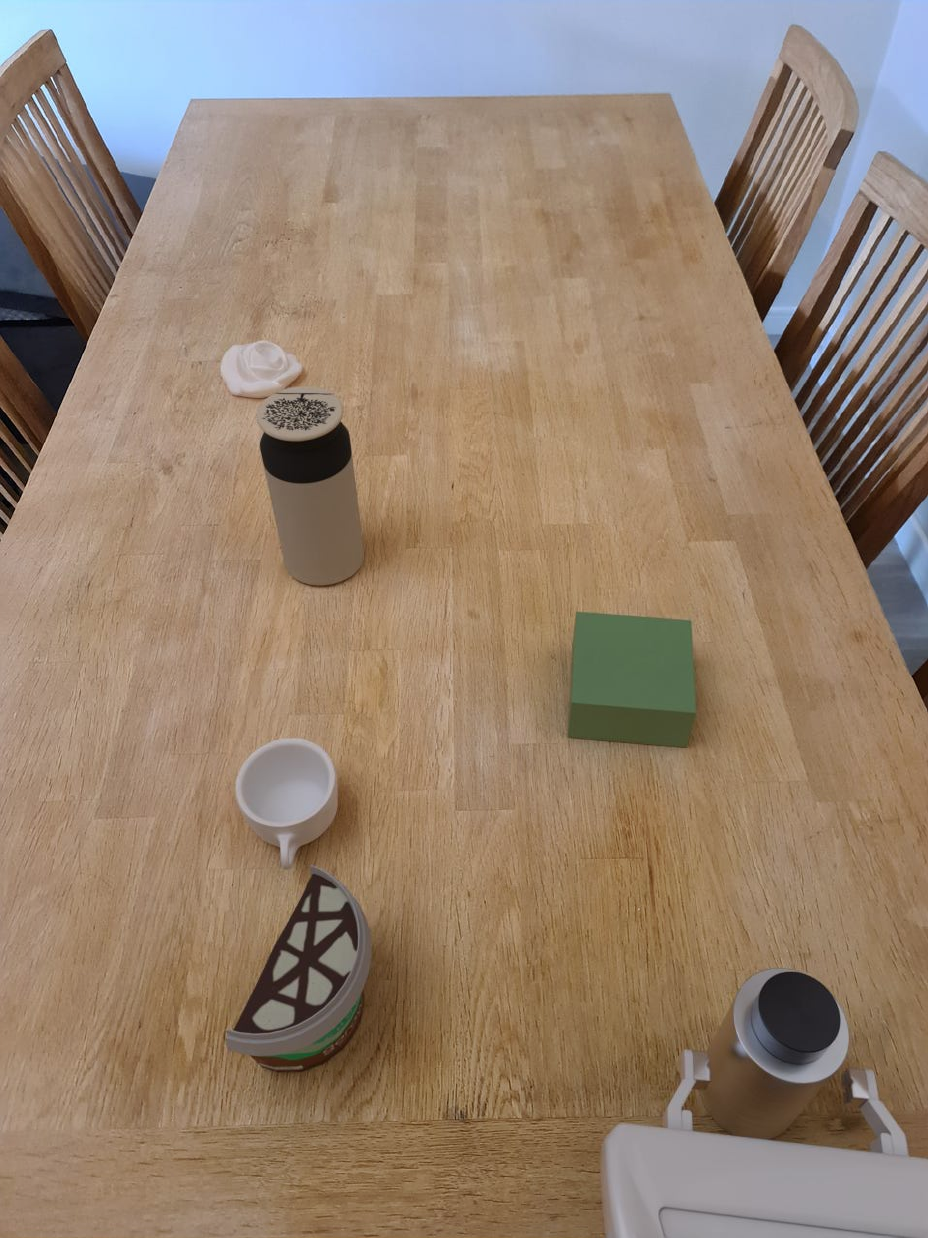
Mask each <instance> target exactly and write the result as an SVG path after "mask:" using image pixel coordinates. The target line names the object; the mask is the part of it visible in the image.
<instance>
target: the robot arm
mask: <svg viewBox="0 0 928 1238" xmlns="http://www.w3.org/2000/svg"><path fill="white" fill-rule="evenodd" d="M708 1063H709V1053H708V1052H707V1050H706V1051H705V1050H696V1049H688V1048H687V1049H686V1048H683V1049H682V1051H681V1053H680V1058H679V1077H680V1079H679V1080H680V1083H679V1085H678V1087H677V1089H676V1091H675V1093H674V1094H673V1096H672V1098H671V1100H670V1101H669V1103H668V1105H667V1107H666V1109H665V1111H664V1113H663V1116H661V1117H662V1118H661V1119H662V1123H661V1124H662V1126H655V1125H645V1124H636V1123H629V1122H619V1123H617V1124H615V1126H613V1128H611V1130H610V1131H609V1132H608V1133H607V1134H606V1135H605V1136H604V1138H603V1141H602V1144H601V1148H600V1162H599V1163H600V1165H599V1166H600V1168H599V1169H600V1170H599V1171H600V1172H599V1173H600V1193H601V1195H600V1196H601V1206H602V1207H601V1208H602V1217H603V1226H604V1234H605V1238H928V1158H926V1157H919V1156H912V1155H911V1156H910V1154H909V1148H908V1147H909V1146H908V1141H907V1136H906V1134H905V1132H904V1131H903V1129H902V1128H901V1127H900V1125H899V1124H898V1123H897V1121H896V1119H895V1118H894V1117H893V1116H892V1114H891V1112H890V1110H888V1109H887V1107H886V1105H885V1104H884V1103H883V1101H882V1100H880V1098H879V1091H878V1084H877V1080H876V1074H875V1073H876V1072H874V1070H873V1069H869V1068H857V1067H846V1068H844V1070H843V1071H842V1072H841V1074H840V1075H841V1076H840V1084H841V1087H842V1089H843V1090H844V1091H843V1093H842V1098H843V1103H844V1104H843V1105H844V1107H846V1108H854V1109H858V1110H859V1112H860V1114H861V1115H862V1117H863V1119H864V1120H865V1122H866V1123H867V1125H868V1126H869V1128H870V1130H871V1131H872V1133H873V1135H874V1136H875V1138H874V1139H873V1140H872V1141H871V1142H869V1144H868V1145H869V1151H867V1150H860V1149H859V1150H858V1149H849V1148H842V1147H832V1146H826V1145H825V1146H824V1145H817V1144H816V1145H815V1144H808V1143H799V1142H791V1141H789V1142H788V1141H783V1140H775V1139H770V1140H766V1139H758V1138H749V1137H741V1136H734V1135H732V1134H724V1133H723V1134H721V1133H716V1132H715V1133H713V1132H705V1131H696V1130H694V1128H693V1125H694V1124H693V1112H692V1111H691V1110H689V1109H683V1107H684V1105H685V1103H686V1102H687V1100H688V1098H689V1096H690V1094H691V1093H692V1090H696V1091H699V1090H706V1088H707V1085H709V1083H710V1069H709V1067H708V1066H707V1065H708ZM682 1109H683V1110H682Z"/></svg>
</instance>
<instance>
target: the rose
mask: <svg viewBox="0 0 928 1238" xmlns="http://www.w3.org/2000/svg"><path fill="white" fill-rule="evenodd" d="M298 360H299V359H297V357H296V356H295V355H294V354H293V353H289V352H288V353H287V352H285V350H284V349H283V348H282V347H281V346H280V345H279V344H275V343H274V342H272V341H270V340H265V339H264V340H263V339H262V340H258V341H255V342H249V343H246V344H233V345H232V346H231V347H229V349H227V351H226V352H225V353H224V354H223V356H222V358H221V361H220V369H219V371H220V376H221V378H222V380H223V381H224V383H225V384H226V388H227V389H228V391H229V393H230V395H232V396H235V397H243V398H250V399H264V398H265V399H266V398H268V397H269V396H271V395H272V394H274V393H276V392H278V391H281V390H284V389H287V388H288V386H289V385H291V384H293V383H295V382H296V381H297V379H298V378H299V376H300V375H301V374H302V372H303V364H302V363H301V362H299V361H298Z"/></svg>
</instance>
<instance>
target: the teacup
mask: <svg viewBox="0 0 928 1238" xmlns="http://www.w3.org/2000/svg"><path fill="white" fill-rule="evenodd" d="M338 787H339V786H338V773H337V769H336V767H335V764H334V763H333V760H332V759H331V757H330V756H329V754H328V753H327V752H326V751H325V750H324V748H322V747H321V746H319V745H318V744H317V743H315V742H313V741H310V740H308V739H305V738H298V737H284V738H279V739H275V740H271V741H270V742H267V743H265V744H263V745H262V746H260V747H258V748H257V749H256V750H254V751H253V752H252V753H251V754H250V755H249V756H248V757H246V759H245V761H244V762H243V763H242V765H241V767H240V769H239V771H238V774H237V776H236V780H235V793H234V794H235V800H236V804H237V807H238V810H239V812H240V814H241V815H242V817H243V819H244V821H245V823H246V825H247V826H248V827H249V828H250V829H251V831H252V832H253V833H255V835H256V836H257V837H259V838H260V839H261V840H262V841H264V842H265V843H267V844H269V845H272V846H276V847H279V850H280V851H279V852H280V862H281V863H280V864H281V867H282V869H283V870H285V871H289V870H291V869H292V866H293V864H294V863H293V862H294V860H295V856H296V853H297V851H298V850H299V848H300V847H302V846H304V845H307V844H309V843H311V842H313V841H315V840H317V839H318V838H319V837H320V836H322V835H323V834H324V833H325V832H326V831H327V830H328V829H329V827H330V826H331V825H332V823H333V821H334V820H335V817H336V815H337V811H338V802H339V801H338V794H339V793H338V792H339V788H338Z"/></svg>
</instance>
